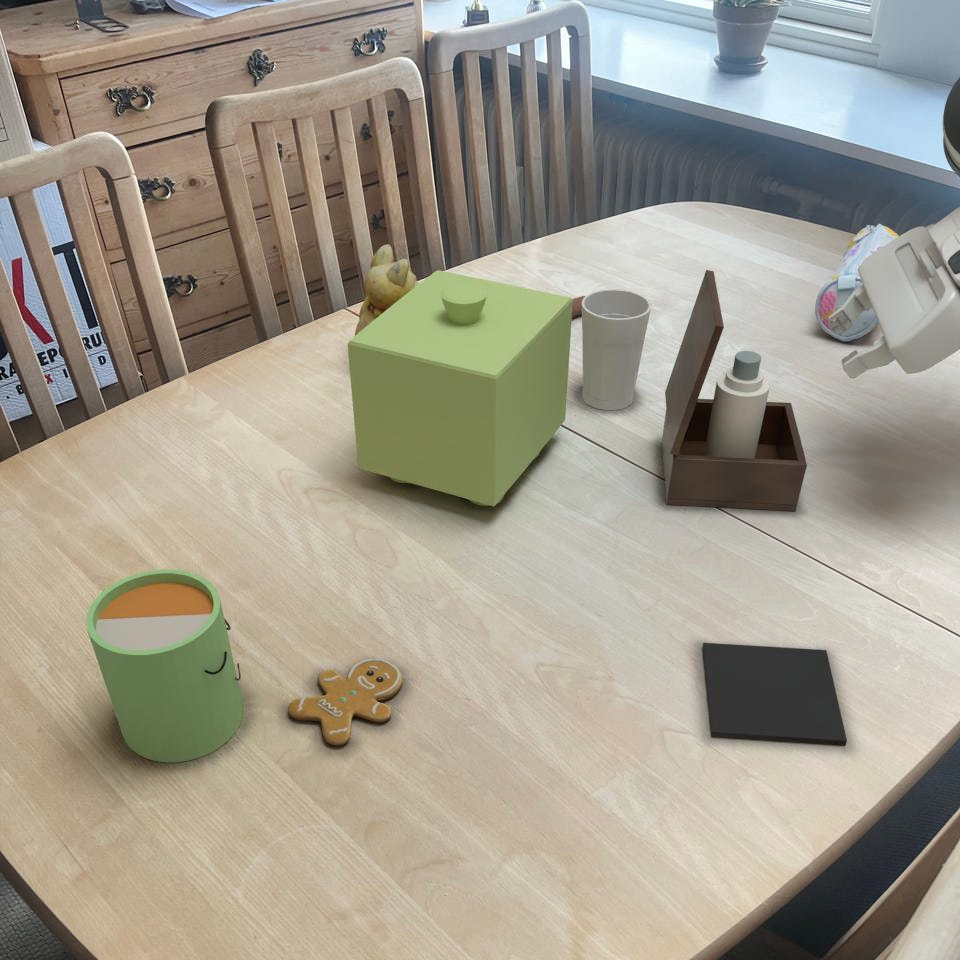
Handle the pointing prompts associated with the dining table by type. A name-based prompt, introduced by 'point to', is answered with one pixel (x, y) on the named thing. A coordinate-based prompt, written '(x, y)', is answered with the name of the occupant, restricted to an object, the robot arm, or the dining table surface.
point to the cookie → (350, 698)
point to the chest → (737, 465)
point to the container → (460, 384)
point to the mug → (167, 664)
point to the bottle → (738, 409)
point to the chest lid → (693, 361)
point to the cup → (612, 346)
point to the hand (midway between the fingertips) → (838, 348)
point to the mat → (772, 694)
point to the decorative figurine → (384, 285)
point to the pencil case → (851, 282)
